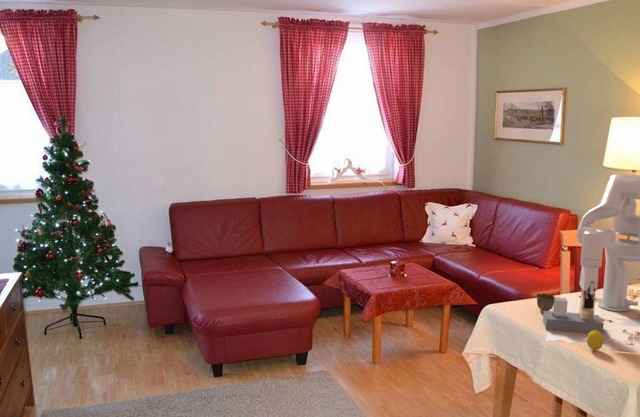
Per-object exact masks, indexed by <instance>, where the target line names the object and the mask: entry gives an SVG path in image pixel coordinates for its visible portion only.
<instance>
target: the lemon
mask: <svg viewBox="0 0 640 417" xmlns="http://www.w3.org/2000/svg"><path fill="white" fill-rule="evenodd" d="M586 344H587V346H588V347H589V348H590V349H591V350H592V351H593V352H594V351H596V350H599V349H601V348H603V345H604V336H603V335H602V334H601V333H600V332H599V331H597V330H594V331H591V332H590V333H589V334H587V337H586Z"/></svg>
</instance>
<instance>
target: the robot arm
mask: <svg viewBox="0 0 640 417" xmlns="http://www.w3.org/2000/svg"><path fill="white" fill-rule="evenodd" d="M636 200H640V175H638V174H630V173H629V174H628V173H615V174H612V175H610V177H609V179H608V181H607V184H606V185H605V189H604V191H603V193H602V196H601V199H600V201H599V204H598V205H597V206H595V207H593V208H592V209H590V210H589V211H587V212H586V213H584V215H583V216H582V217H581V219H580V222H579V225H578V227H577V231H576V234H575V235H576V236H575V237H576V240H577V242H578V243H579V244H581V252H580V253H581V254H580V266H581V271H580V277H579V286H580V288H581V290H583V291H586V298H585V302H584V308H589V309H593V303H594V293H596V292H597V290H598V285H599V284H598V283H599V268H601V267H602V261H603V251H604V254H605V266H604V267H605V268H604V279H603V280H604V281H603V288H602V299H601V300H600V301H598V302H597V305H598V307H600V308H601V309H604V310H607V311H611V312H612V311H613V312H620V313H621V312H627V311H630V306H633V307H634V306H635V307H639V301H634V300H633V299H628V297H627V296H628V287H629V275H630V269H629V266H628V265H627V263H626V262H630V263H635V264H640V215H637V214H636V213H637V212H636V211H637V202H636ZM610 218H612V221H611V222H612V225H611V229H610V228H605V227H597V226H593V225H592V224H594V223H596V222H597V221H598V222H599V221H601V220H606V219H610ZM617 235H619V236H625V237H632V238H637V239H638V240H633V239H628V238H622V237H621V238H620V237H617ZM588 290H589V291H588ZM588 292H589V294H588Z"/></svg>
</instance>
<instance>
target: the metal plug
mask: <svg viewBox="0 0 640 417" xmlns="http://www.w3.org/2000/svg"><path fill="white" fill-rule="evenodd" d="M552 311H553V317H554V318H565V319H566V315H567V313H568V312H567V311H568V300H567V297H558V296H554V304H553V307H552Z"/></svg>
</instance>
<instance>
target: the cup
mask: <svg viewBox="0 0 640 417" xmlns="http://www.w3.org/2000/svg"><path fill="white" fill-rule="evenodd" d="M554 297H555V295H553V293H551V294H550V293H548V294H547V292H543V293H541V292H540V293H539V292H538V293H536V304H537V307H538V309H540V310H539V311H540V313H543V314H544V311H552V310H553V308H554Z"/></svg>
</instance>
